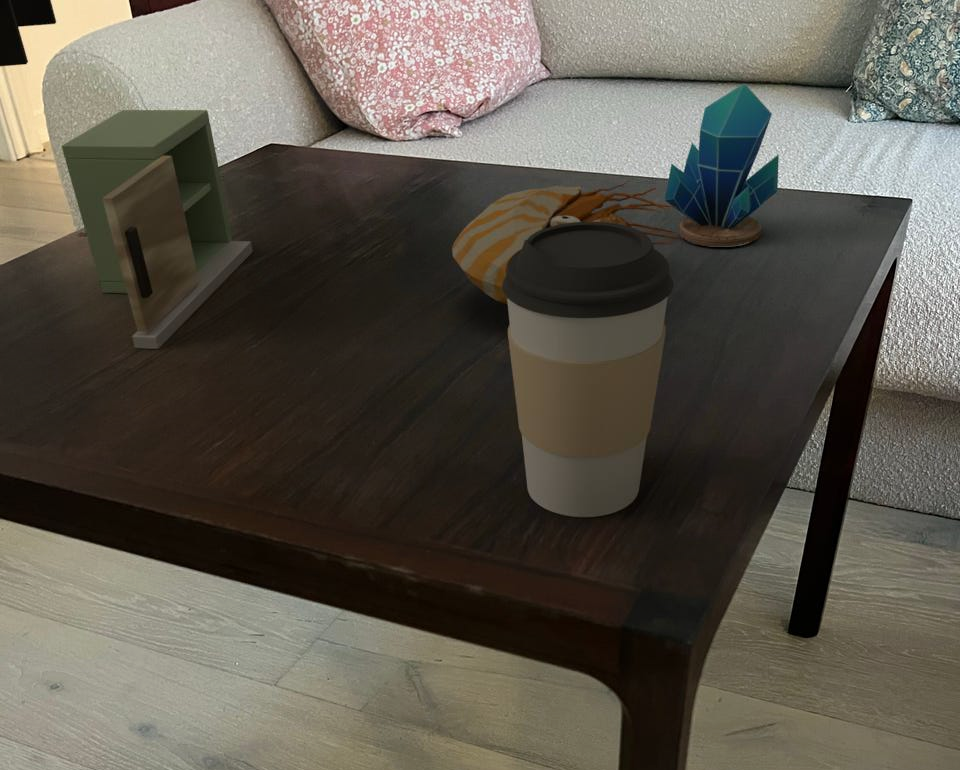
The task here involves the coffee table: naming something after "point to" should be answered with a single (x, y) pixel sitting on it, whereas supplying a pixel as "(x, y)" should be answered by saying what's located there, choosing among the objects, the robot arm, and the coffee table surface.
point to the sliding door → (152, 241)
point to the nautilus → (531, 228)
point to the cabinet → (188, 139)
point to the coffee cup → (586, 361)
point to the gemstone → (724, 173)
